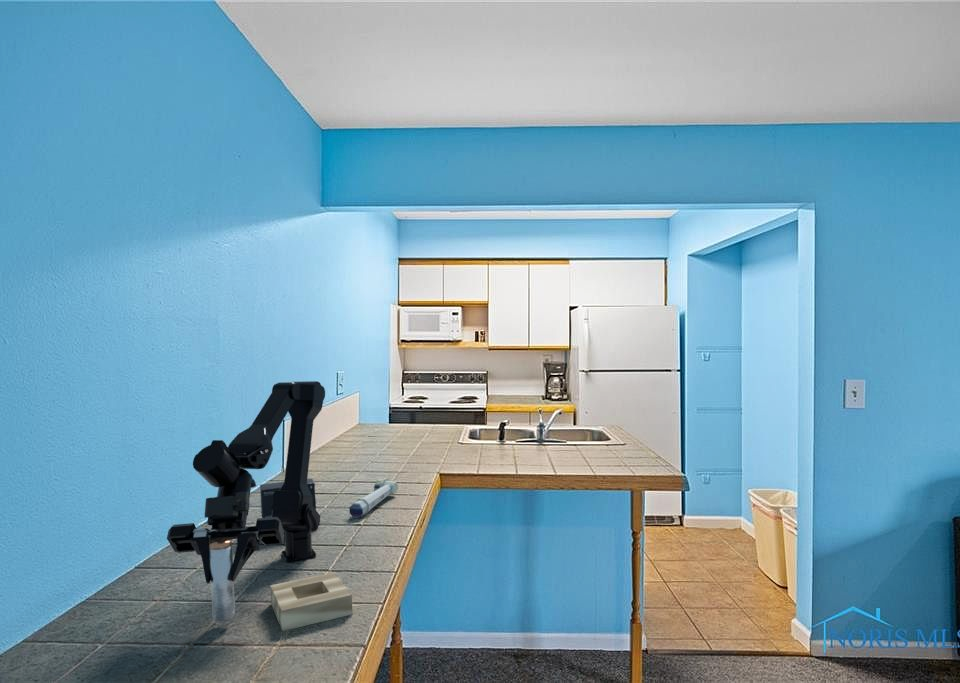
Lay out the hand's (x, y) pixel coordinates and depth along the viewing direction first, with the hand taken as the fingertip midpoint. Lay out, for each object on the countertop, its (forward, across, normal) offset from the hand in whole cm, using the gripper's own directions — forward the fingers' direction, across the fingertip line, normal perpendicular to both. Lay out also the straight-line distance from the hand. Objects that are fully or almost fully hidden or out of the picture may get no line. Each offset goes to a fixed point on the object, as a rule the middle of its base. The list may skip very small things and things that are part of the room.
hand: (219, 581), depth 107 cm
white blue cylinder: (-46, +21, +55) cm, 74 cm away
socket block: (+2, +14, +10) cm, 17 cm away
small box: (-31, +3, +44) cm, 54 cm away
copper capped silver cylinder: (+4, 0, +6) cm, 7 cm away
